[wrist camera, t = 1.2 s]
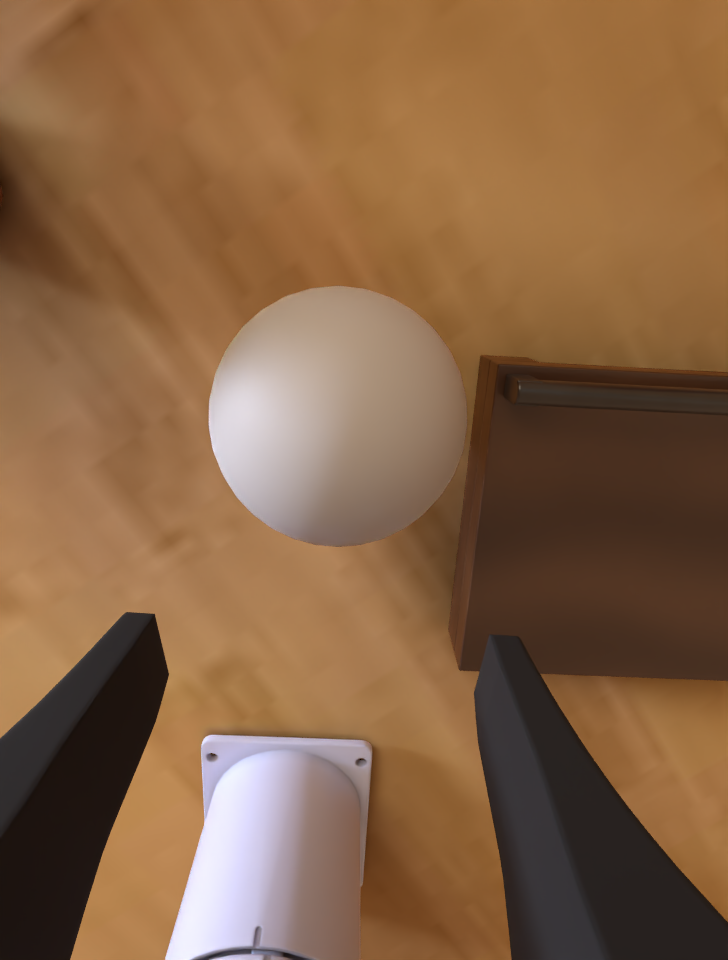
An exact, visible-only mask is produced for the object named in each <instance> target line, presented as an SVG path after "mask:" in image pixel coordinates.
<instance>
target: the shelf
mask: <svg viewBox="0 0 728 960" xmlns="http://www.w3.org/2000/svg"><path fill="white" fill-rule="evenodd" d="M448 630H449V634H450V638H451V642H452V645H453V649H454V653H455V656H456V660H457V664H458V668H459V670H460V671H480V668H481V665H482V661H483V657H484V653H485V649H486V645H487V642H488V638H489V634H492V635H509V636H518V637H519V638H520V639H521V640H522V642H523V644H524V646H525V647H526V649H527V651H528V653H529V655H530V657H531V659H532V661H533V662H534V664H535V666H536V668H537V670H538V671H539V673H540V674H564V675H590V676H616V677H642V678H668V679H694V680H720V681H728V373H727V372H708V371H689V370H671V369H652V368H633V367H614V366H596V365H577V364H558V363H540V362H537V361H535V360H532V359H529V358H526V357H507V356H488V355H481V357H480V366H479V374H478V383H477V391H476V400H475V408H474V417H473V425H472V434H471V442H470V451H469V459H468V468H467V476H466V485H465V493H464V502H463V510H462V519H461V527H460V536H459V544H458V553H457V561H456V570H455V578H454V587H453V595H452V604H451V612H450V621H449V629H448Z"/></svg>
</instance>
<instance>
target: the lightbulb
mask: <svg viewBox="0 0 728 960" xmlns="http://www.w3.org/2000/svg"><path fill="white" fill-rule="evenodd" d="M466 430H467V403H466V394H465V390H464V386H463V382H462V377H461V373H460V371H459V369H458V367H457V364H456V362H455V360H454V358H453V356H452V354H451V351H450V349H449V348H448V347H447V345H446V344H445V343H444V341H443V340H442V339H441V337H440V336H439V335H438V333H437V332H436V330H435V329H434V328H433V327H432V326H431V325H429V324H428V323H427V322H426V321H425V320H424V319H423V318H422V317H421V316H419V315H418V314H417V313H416V312H415V311H414V310H412V309H410V308H408V307H407V306H405V305H403V304H402V303H400V302H398V301H396V300H395V299H393V298H391V297H388V296H385V295H382V294H379V293H376V292H373V291H370V290H367V289H362V288H354V287H345V286H330V287H319V288H311V289H307V290H304V291H301V292H298V293H294V294H291V295H288V296H285V297H283V298H282V299H280V300H278V301H276V302H274V303H273V304H271V305H269V306H267V307H266V308H264V309H262V310H261V311H260V312H259V313H258V314H256V315H255V316H254V317H253V318H252V319H251V320H250V321H248V322H247V323H246V324H245V325H244V326H243V327H242V328H241V329H240V331H239V332H238V333H237V335H236V336H235V338H234V339H233V340H232V342H231V343H230V344H229V346H228V347H227V349H226V351H225V353H224V355H223V357H222V360H221V362H220V364H219V366H218V368H217V370H216V374H215V378H214V382H213V386H212V391H211V395H210V399H209V431H210V436H211V442H212V447H213V452H214V454H215V457H216V459H217V462H218V464H219V467H220V469H221V472H222V474H223V476H224V478H225V479H226V481H227V482H228V484H229V486H230V487H231V489H232V490H233V492H234V494H235V495H236V497H237V498H238V499H239V500H240V501H241V502H242V503H243V504H244V505H245V506H246V508H247V509H248V510H249V511H250V512H251V513H252V514H253V515H254V516H256V517H257V518H259V519H260V520H261V521H263V522H264V523H265V524H267V525H268V526H269V527H271V528H272V529H274V530H276V531H278V532H281V533H283V534H285V535H287V536H289V537H291V538H293V539H297V540H300V541H304V542H307V543H311V544H314V545H324V546H335V547H342V546H353V545H362V544H366V543H370V542H373V541H377V540H381V539H384V538H386V537H388V536H390V535H392V534H394V533H396V532H398V531H400V530H403V529H404V528H406V527H407V526H408V525H410V524H411V523H412V522H414V521H415V520H417V519H418V518H419V517H421V516H422V515H423V514H424V513H425V512H426V511H427V510H428V509H429V508H430V507H431V506H432V505H433V503H434V502H435V501H436V500H437V499H438V498H439V497H440V496H441V495H442V493H443V492H444V490H445V488H446V487H447V485H448V484H449V482H450V481H451V479H452V477H453V476H454V474H455V471H456V468H457V466H458V463H459V461H460V458H461V455H462V453H463V448H464V442H465V436H466Z"/></svg>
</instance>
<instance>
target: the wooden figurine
mask: <svg viewBox="0 0 728 960" xmlns="http://www.w3.org/2000/svg"><path fill="white" fill-rule="evenodd" d="M2 197H3V194H2V190H1V185H0V208H1V203H2Z"/></svg>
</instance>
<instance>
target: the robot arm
mask: <svg viewBox="0 0 728 960" xmlns="http://www.w3.org/2000/svg"><path fill="white" fill-rule="evenodd" d="M168 676H169V673H168V669H167V664H166V660H165V656H164V652H163V647H162V643H161V639H160V635H159V630H158V626H157V622H156V618H155V614H147V613H131V612H126V613H125V614H124V615H122V616H121V618H120V619H119V620H118V621H117V622H116V623H115V624H114V625H113V626H112V627H111V628H110V629H109V630H108V631H107V633H106V634H105V635H104V636H103V637H102V638H101V639H100V640H99V641H98V642H97V643H96V644H95V645H94V647H93V648H92V649H91V650H90V651H89V652H88V653H87V654H86V655H85V656H84V657H83V658H82V659H81V660H80V661H79V662H78V663H77V664H76V665H75V667H74V668H73V669H72V670H71V671H70V672H69V673H68V674H67V675H66V676H65V677H64V678H63V679H62V680H61V681H60V682H59V683H58V684H57V685H56V686H55V687H54V688H53V689H52V690H51V691H50V692H49V693H48V694H47V695H46V696H45V697H44V698H43V699H42V700H41V701H40V702H39V703H38V704H37V705H36V706H35V707H34V708H32V709H31V710H30V711H29V712H28V713H27V714H26V715H25V716H24V717H23V718H22V719H21V720H20V721H19V722H17V723H16V724H15V725H14V726H13V727H12V728H11V729H10V730H9V731H8V732H7V733H6V734H5V735H4V736H2V737H1V738H0V960H70V958H71V955H72V951H73V948H74V944H75V941H76V938H77V934H78V931H79V928H80V924H81V921H82V917H83V914H84V911H85V907H86V904H87V901H88V898H89V895H90V891H91V888H92V885H93V882H94V879H95V875H96V872H97V869H98V866H99V863H100V860H101V856H102V853H103V851H104V848H105V845H106V843H107V840H108V837H109V834H110V832H111V829H112V827H113V824H114V822H115V819H116V817H117V815H118V812H119V810H120V807H121V805H122V802H123V800H124V798H125V795H126V793H127V790H128V788H129V786H130V783H131V781H132V778H133V776H134V773H135V771H136V769H137V766H138V764H139V761H140V759H141V757H142V754H143V752H144V749H145V747H146V744H147V742H148V739H149V737H150V734H151V732H152V729H153V727H154V724H155V722H156V718H157V715H158V712H159V708H160V705H161V701H162V698H163V694H164V691H165V687H166V683H167V679H168ZM474 698H475V712H476V724H477V735H478V744H479V749H480V755H481V760H482V765H483V771H484V776H485V781H486V786H487V792H488V797H489V802H490V807H491V812H492V818H493V823H494V828H495V833H496V838H497V843H498V849H499V854H500V860H501V867H502V873H503V880H504V889H505V899H506V908H507V918H508V927H509V937H510V947H511V958H512V960H728V922H727V921H726V920H725V919H724V918H723V917H722V916H721V914H720V913H719V912H718V911H717V910H716V909H715V908H714V907H713V906H712V905H711V903H710V902H709V901H708V900H707V899H706V898H705V897H704V896H703V895H702V894H701V892H700V891H699V890H698V889H697V888H696V887H695V886H694V885H693V884H692V883H691V881H690V880H689V879H688V878H687V877H686V876H685V875H684V874H683V873H682V872H681V870H680V869H679V868H678V867H677V866H676V865H675V864H674V862H673V861H672V860H671V859H670V858H669V857H668V855H667V854H666V853H665V852H664V851H663V849H662V848H661V847H660V846H659V845H658V843H657V842H656V841H655V840H654V839H653V837H652V836H651V835H650V834H649V833H648V831H647V830H646V829H645V828H644V826H643V825H642V824H641V823H640V821H639V820H638V819H637V817H636V816H635V815H634V814H633V812H632V811H631V810H630V809H629V807H628V806H627V805H626V803H625V802H624V801H623V799H622V798H621V797H620V796H619V794H618V793H617V791H616V790H615V789H614V787H613V786H612V785H611V783H610V782H609V781H608V779H607V778H606V776H605V775H604V774H603V772H602V771H601V769H600V768H599V766H598V765H597V764H596V762H595V761H594V759H593V758H592V757H591V755H590V754H589V752H588V751H587V749H586V748H585V746H584V745H583V743H582V742H581V740H580V739H579V737H578V735H577V734H576V732H575V731H574V729H573V728H572V726H571V725H570V723H569V721H568V720H567V718H566V717H565V715H564V714H563V712H562V710H561V709H560V707H559V706H558V704H557V702H556V701H555V699H554V697H553V696H552V694H551V692H550V690H549V689H548V687H547V685H546V684H545V682H544V680H543V678H542V677H541V675H540V673H539V671H538V670H537V668H536V666H535V664H534V662H533V661H532V659H531V657H530V655H529V653H528V651H527V649H526V647H525V646H524V644H523V642H522V640H521V639H520V638H519V637H518V636H509V635H492V634H489V638H488V642H487V645H486V649H485V653H484V657H483V661H482V665H481V668H480V672H479V676H478V680H477V684H476V688H475V691H474ZM210 753H214V754H216V755H211V754H210ZM201 757H202V777H203V797H204V816H205V824H204V827H203V831H202V834H201V838H200V841H199V844H198V848H197V851H196V855H195V858H194V862H193V865H192V869H191V872H190V875H189V879H188V882H187V886H186V889H185V893H184V896H183V899H182V903H181V906H180V910H179V913H178V917H177V920H176V924H175V927H174V930H173V934H172V937H171V941H170V944H169V948H168V951H167V955H166V958H165V960H361V915H360V887H361V886H362V884H363V875H364V861H365V847H366V834H367V820H368V806H369V793H370V779H371V765H372V745H371V744H370V743H369V742H367V741H365V740H348V739H319V738H291V737H262V736H234V735H209V736H207V737H205V738H204V740H203V742H202V746H201ZM359 758H363V759H364V760H358V759H359Z"/></svg>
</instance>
